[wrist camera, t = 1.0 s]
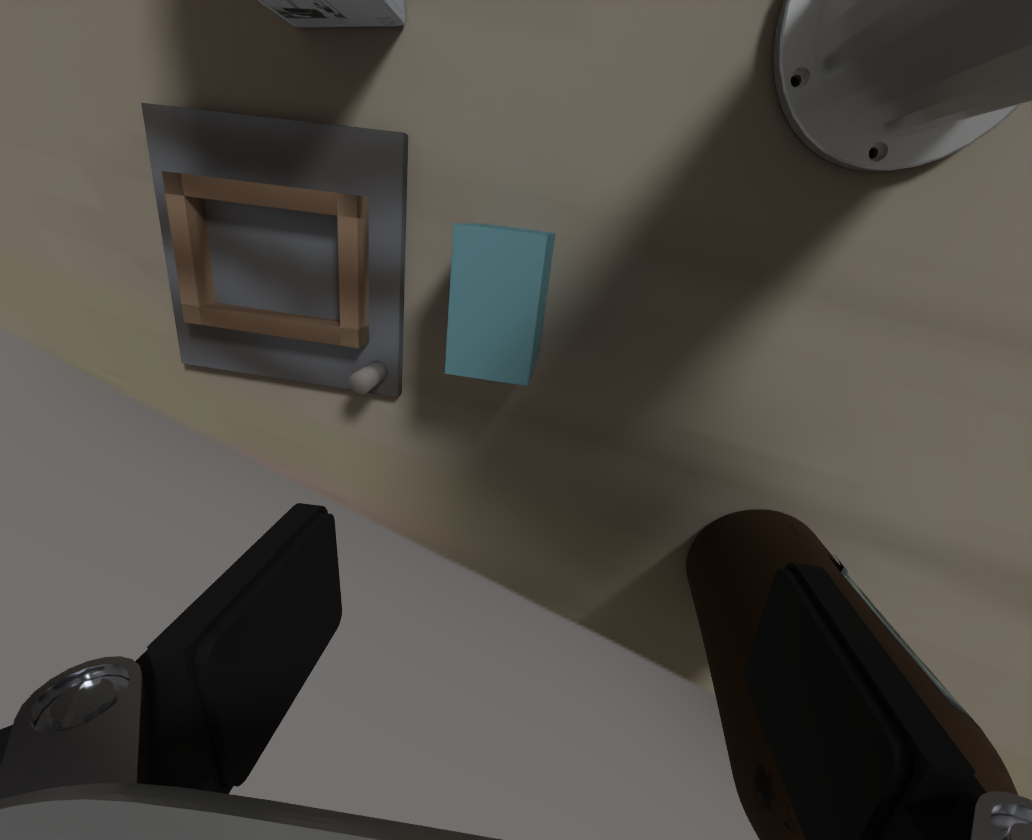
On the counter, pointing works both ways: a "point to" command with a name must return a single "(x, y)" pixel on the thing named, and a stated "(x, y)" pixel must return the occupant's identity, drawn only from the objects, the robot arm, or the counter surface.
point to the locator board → (283, 245)
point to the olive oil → (729, 638)
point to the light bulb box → (339, 12)
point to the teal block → (497, 301)
